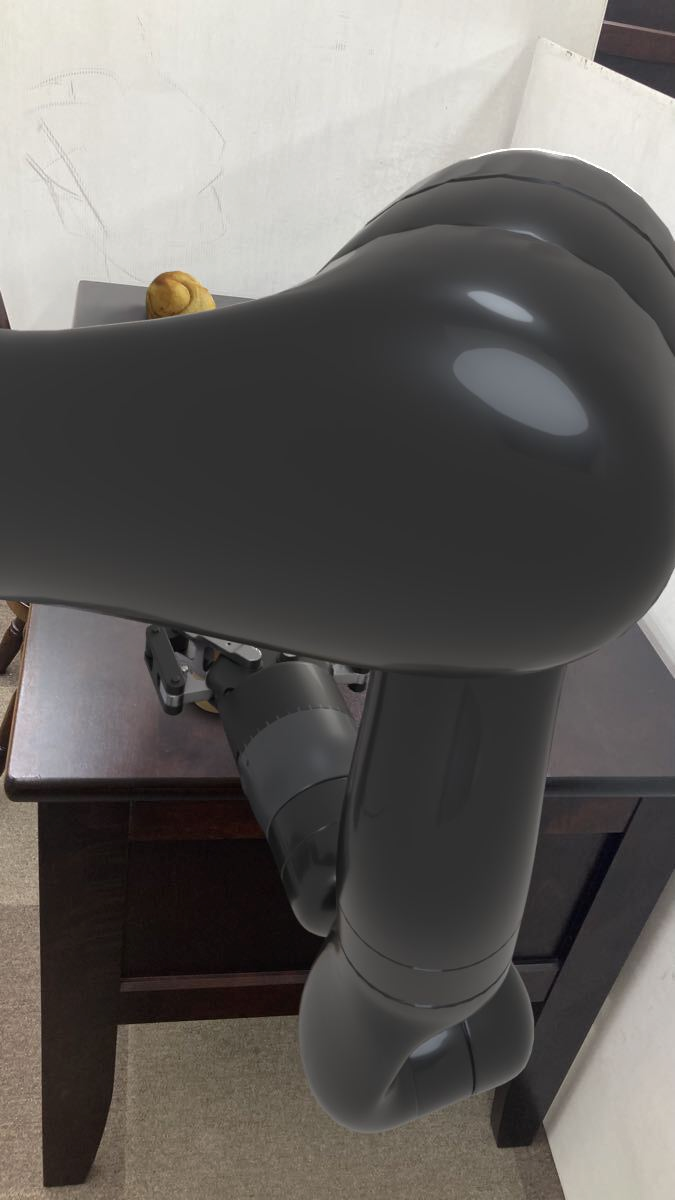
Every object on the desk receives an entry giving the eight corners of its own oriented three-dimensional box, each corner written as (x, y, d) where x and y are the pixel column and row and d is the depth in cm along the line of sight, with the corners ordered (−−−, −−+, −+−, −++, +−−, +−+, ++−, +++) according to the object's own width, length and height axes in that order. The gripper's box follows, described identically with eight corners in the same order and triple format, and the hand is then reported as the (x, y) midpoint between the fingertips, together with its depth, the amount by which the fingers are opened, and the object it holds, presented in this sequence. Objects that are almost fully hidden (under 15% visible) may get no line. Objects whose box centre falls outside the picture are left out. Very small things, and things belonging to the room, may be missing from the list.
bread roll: (139, 305, 130) (142, 249, 126) (206, 310, 133) (211, 256, 129) (147, 340, 121) (150, 282, 116) (219, 346, 124) (224, 288, 119)
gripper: (424, 697, 53) (332, 541, 64) (187, 728, 48) (133, 552, 59) (397, 781, 57) (315, 621, 69) (177, 818, 52) (129, 638, 63)
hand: (231, 590), depth 64 cm, fingers open, 8 cm apart
